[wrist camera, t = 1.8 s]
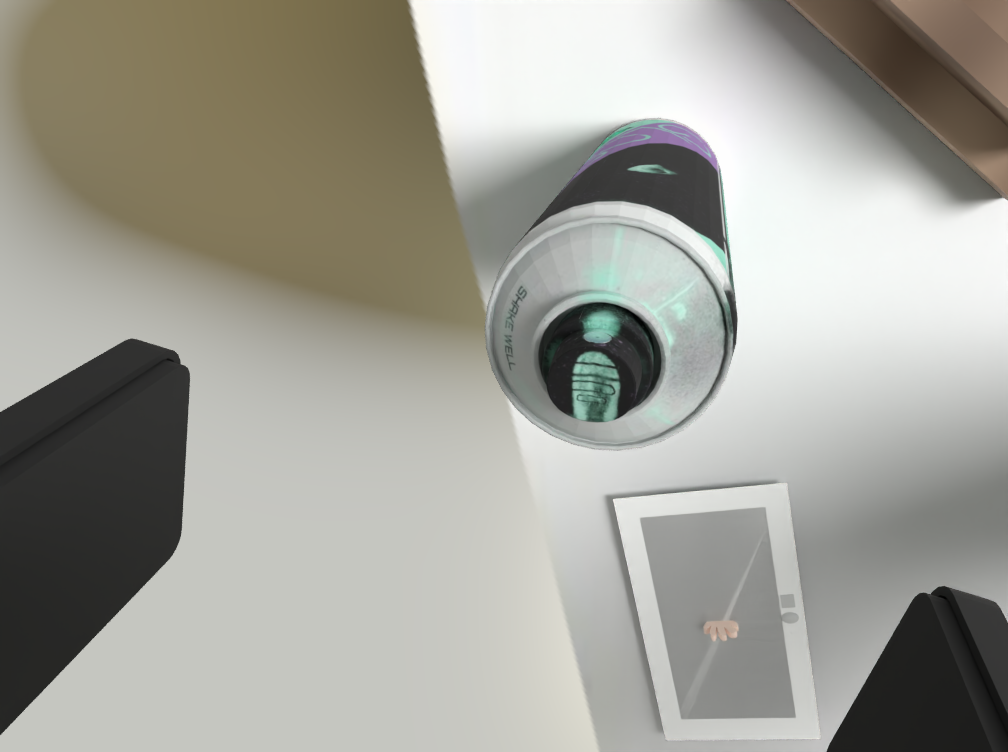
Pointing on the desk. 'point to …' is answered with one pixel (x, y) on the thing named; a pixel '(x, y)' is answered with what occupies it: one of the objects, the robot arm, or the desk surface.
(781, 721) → the touchpad
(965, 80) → the display stand
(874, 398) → the desk surface
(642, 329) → the spray can
